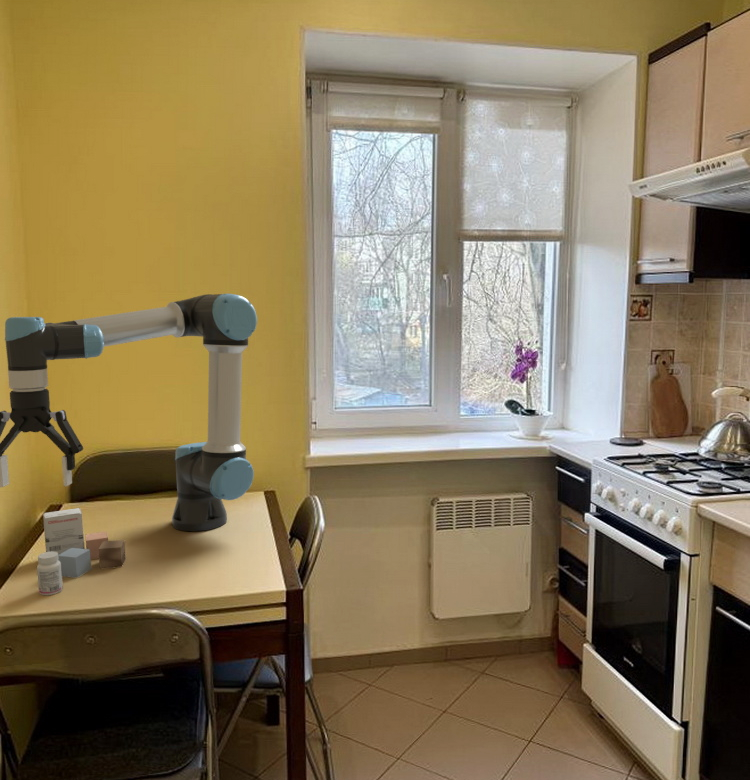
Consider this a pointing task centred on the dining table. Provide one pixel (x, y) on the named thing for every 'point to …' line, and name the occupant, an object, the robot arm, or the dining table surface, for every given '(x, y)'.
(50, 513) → the ink box
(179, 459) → the robot arm
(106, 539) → the terracotta cube
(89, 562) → the slate blue cube
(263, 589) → the dining table surface
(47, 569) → the pill bottle
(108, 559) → the walnut cube
